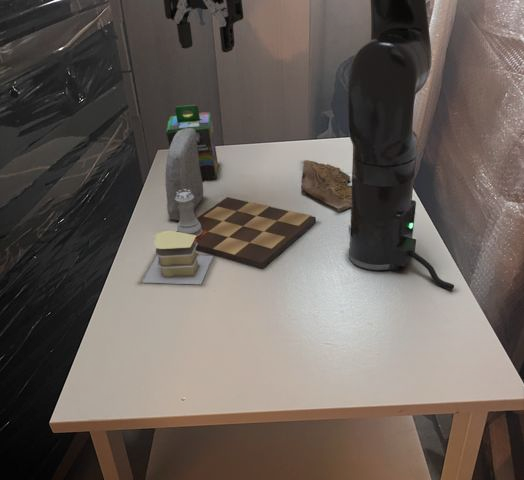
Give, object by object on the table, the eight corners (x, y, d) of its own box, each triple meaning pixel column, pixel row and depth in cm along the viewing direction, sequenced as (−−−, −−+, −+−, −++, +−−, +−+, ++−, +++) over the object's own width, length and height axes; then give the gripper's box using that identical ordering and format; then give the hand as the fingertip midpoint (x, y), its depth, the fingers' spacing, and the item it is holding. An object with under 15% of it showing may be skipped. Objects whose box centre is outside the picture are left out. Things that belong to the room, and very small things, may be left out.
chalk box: (217, 163, 133) (209, 95, 124) (216, 180, 126) (208, 109, 116) (177, 166, 133) (166, 98, 124) (174, 183, 126) (162, 112, 117)
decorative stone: (193, 222, 111) (181, 144, 102) (163, 221, 112) (148, 144, 103) (208, 197, 119) (198, 123, 110) (180, 197, 120) (168, 122, 111)
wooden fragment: (369, 208, 111) (369, 203, 110) (312, 215, 110) (311, 210, 109) (335, 158, 130) (335, 154, 130) (286, 164, 130) (286, 160, 129)
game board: (315, 222, 108) (315, 216, 107) (262, 269, 97) (262, 262, 96) (227, 202, 117) (227, 196, 116) (169, 242, 106) (168, 236, 105)
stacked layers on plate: (213, 256, 101) (209, 227, 97) (201, 284, 94) (196, 254, 91) (157, 254, 102) (152, 226, 99) (141, 282, 96) (134, 253, 92)
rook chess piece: (183, 227, 107) (176, 186, 102) (206, 229, 106) (200, 187, 101) (174, 239, 104) (166, 197, 99) (197, 241, 102) (190, 198, 97)
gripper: (142, -65, 89) (160, 51, 99) (216, -67, 83) (228, 58, 93) (173, -71, 94) (188, 41, 104) (246, -73, 87) (254, 47, 98)
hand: (207, 49), depth 99 cm, fingers open, 8 cm apart
